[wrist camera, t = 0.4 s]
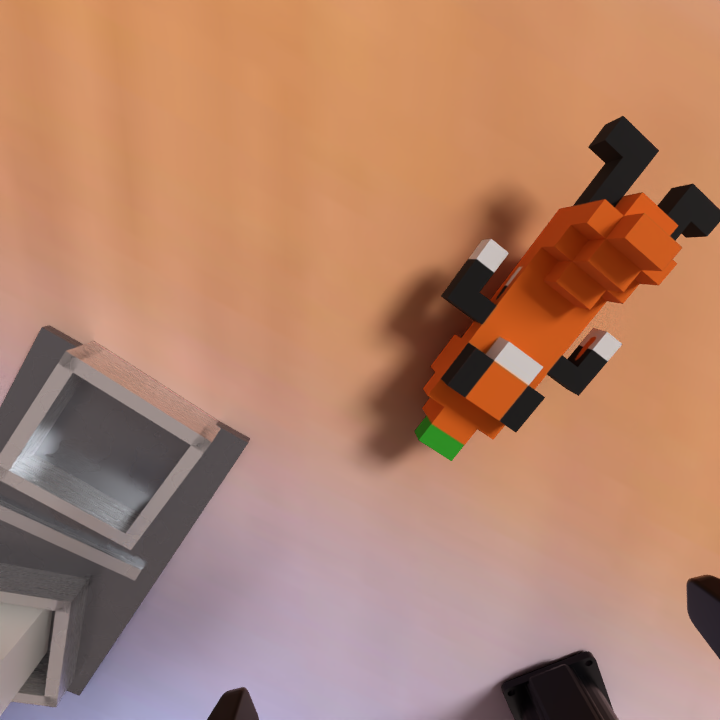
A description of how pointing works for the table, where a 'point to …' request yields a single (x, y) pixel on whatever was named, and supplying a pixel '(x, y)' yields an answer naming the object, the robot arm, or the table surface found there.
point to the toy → (556, 296)
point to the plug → (20, 646)
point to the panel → (112, 477)
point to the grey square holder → (68, 491)
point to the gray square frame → (69, 609)
